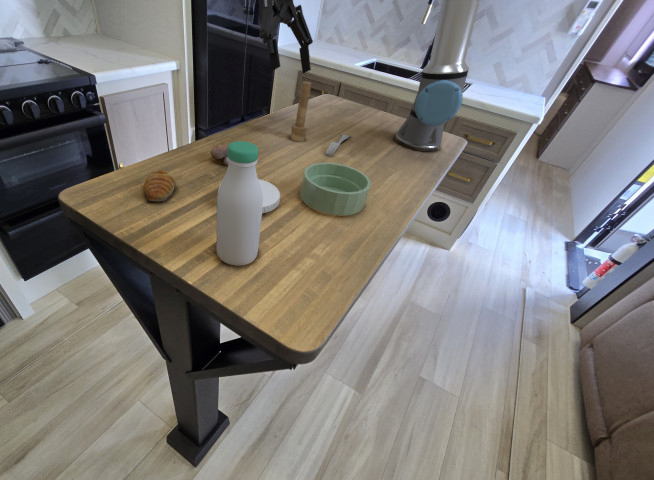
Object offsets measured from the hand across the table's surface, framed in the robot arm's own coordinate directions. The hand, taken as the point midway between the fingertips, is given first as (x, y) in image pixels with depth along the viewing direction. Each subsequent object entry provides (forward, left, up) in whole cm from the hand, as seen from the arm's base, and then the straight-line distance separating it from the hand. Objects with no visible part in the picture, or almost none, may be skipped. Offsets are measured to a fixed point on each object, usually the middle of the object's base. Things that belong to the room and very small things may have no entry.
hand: (292, 70), depth 97 cm
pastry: (+54, +1, -18) cm, 57 cm away
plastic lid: (+43, +18, -18) cm, 50 cm away
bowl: (+28, +32, -18) cm, 46 cm away
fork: (-7, +17, -18) cm, 26 cm away
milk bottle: (+60, +28, -18) cm, 69 cm away
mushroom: (+30, 0, -18) cm, 35 cm away
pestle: (-1, +5, -18) cm, 19 cm away
